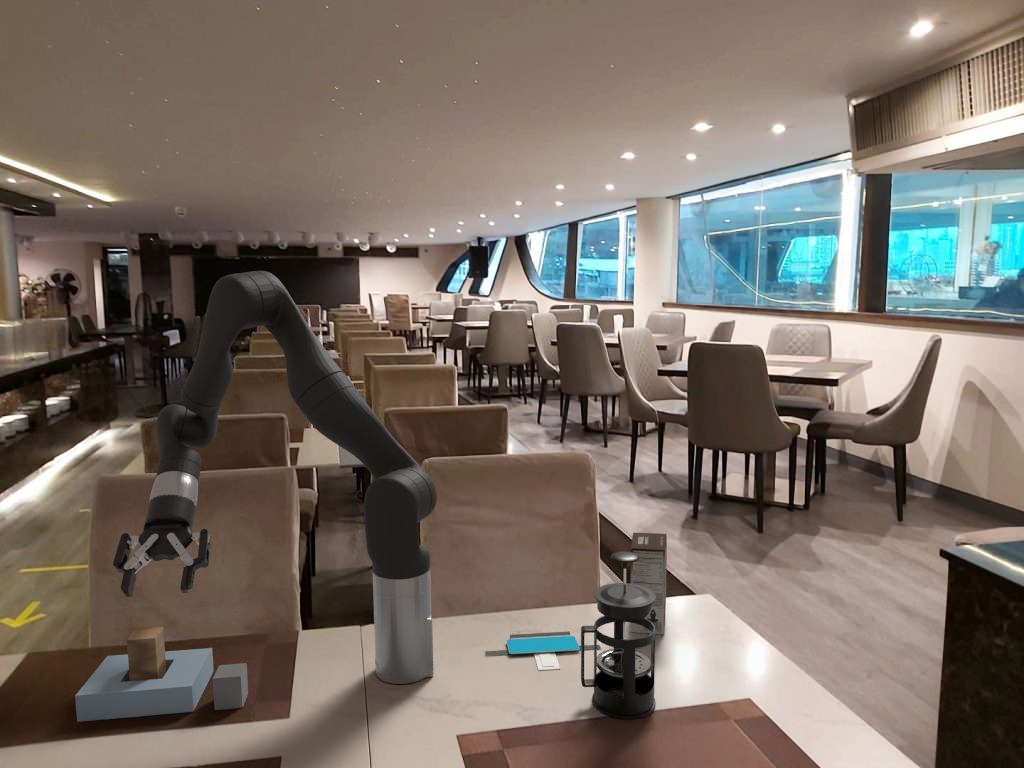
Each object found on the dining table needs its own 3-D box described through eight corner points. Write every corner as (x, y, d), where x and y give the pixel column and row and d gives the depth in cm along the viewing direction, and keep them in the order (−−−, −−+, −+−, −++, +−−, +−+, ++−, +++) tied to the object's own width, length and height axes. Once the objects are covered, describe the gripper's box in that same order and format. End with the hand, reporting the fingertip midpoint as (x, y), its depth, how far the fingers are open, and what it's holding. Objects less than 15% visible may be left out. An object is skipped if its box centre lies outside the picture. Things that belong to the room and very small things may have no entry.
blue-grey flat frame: (213, 671, 120) (212, 647, 120) (193, 711, 109) (191, 686, 108) (109, 679, 118) (107, 655, 118) (77, 721, 106) (75, 695, 106)
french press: (653, 685, 115) (655, 543, 112) (666, 719, 105) (668, 565, 103) (578, 686, 115) (578, 544, 112) (584, 720, 105) (585, 566, 103)
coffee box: (631, 611, 142) (632, 531, 140) (665, 614, 140) (666, 533, 139) (629, 632, 133) (630, 547, 131) (665, 635, 131) (667, 549, 130)
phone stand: (488, 677, 119) (488, 667, 119) (483, 643, 131) (483, 634, 130) (609, 669, 121) (609, 660, 121) (593, 636, 133) (593, 628, 132)
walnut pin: (167, 686, 116) (163, 626, 114) (159, 700, 112) (155, 638, 111) (140, 689, 115) (135, 628, 114) (131, 703, 111) (126, 640, 110)
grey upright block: (248, 693, 114) (246, 663, 113) (242, 707, 110) (240, 676, 109) (221, 695, 113) (219, 665, 112) (214, 710, 109) (212, 678, 108)
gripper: (122, 495, 123) (100, 586, 113) (211, 490, 126) (197, 580, 116) (135, 516, 129) (115, 605, 119) (220, 512, 131) (207, 599, 121)
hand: (156, 593), depth 117 cm, fingers open, 8 cm apart
